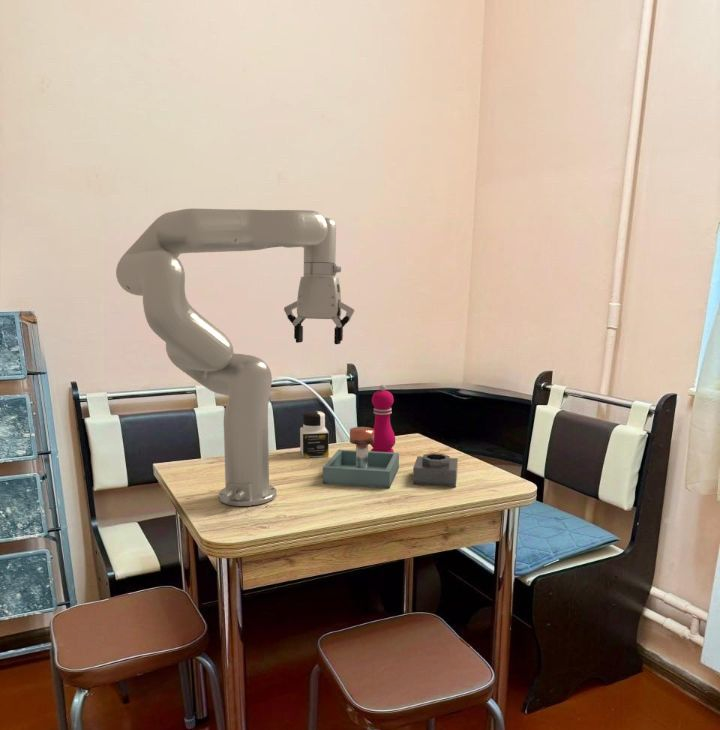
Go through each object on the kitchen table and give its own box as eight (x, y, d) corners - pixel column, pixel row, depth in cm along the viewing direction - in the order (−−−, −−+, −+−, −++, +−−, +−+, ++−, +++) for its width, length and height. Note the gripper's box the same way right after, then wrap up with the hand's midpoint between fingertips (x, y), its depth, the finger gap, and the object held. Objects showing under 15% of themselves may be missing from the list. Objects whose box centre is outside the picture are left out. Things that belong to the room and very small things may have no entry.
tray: (389, 488, 135) (389, 471, 134) (322, 483, 138) (322, 467, 137) (398, 467, 150) (399, 452, 150) (338, 464, 153) (338, 449, 153)
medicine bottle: (303, 458, 159) (302, 415, 157) (300, 451, 166) (299, 410, 164) (328, 456, 160) (328, 414, 159) (325, 450, 167) (324, 409, 166)
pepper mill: (399, 454, 162) (400, 384, 160) (387, 461, 156) (387, 387, 154) (377, 451, 166) (378, 382, 164) (364, 457, 160) (364, 385, 158)
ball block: (455, 487, 136) (456, 464, 135) (412, 484, 138) (413, 461, 137) (457, 474, 145) (457, 452, 145) (417, 471, 147) (417, 450, 147)
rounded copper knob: (375, 470, 146) (376, 427, 145) (371, 477, 140) (371, 433, 139) (352, 468, 148) (352, 426, 146) (347, 476, 142) (347, 431, 140)
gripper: (358, 272, 140) (356, 343, 142) (290, 271, 144) (289, 341, 146) (350, 270, 133) (349, 345, 134) (279, 270, 137) (278, 342, 138)
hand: (318, 343), depth 140 cm, fingers open, 9 cm apart
